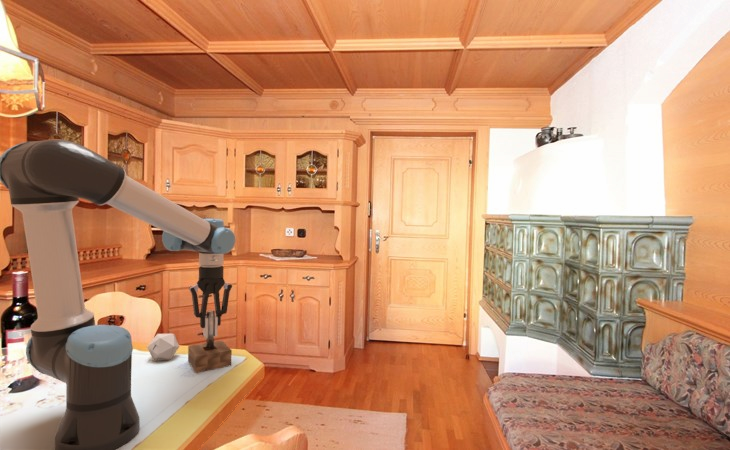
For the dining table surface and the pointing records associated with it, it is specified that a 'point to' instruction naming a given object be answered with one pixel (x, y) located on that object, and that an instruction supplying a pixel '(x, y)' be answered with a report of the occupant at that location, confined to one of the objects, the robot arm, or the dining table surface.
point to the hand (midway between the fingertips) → (210, 336)
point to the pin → (210, 329)
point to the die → (163, 346)
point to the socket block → (209, 356)
